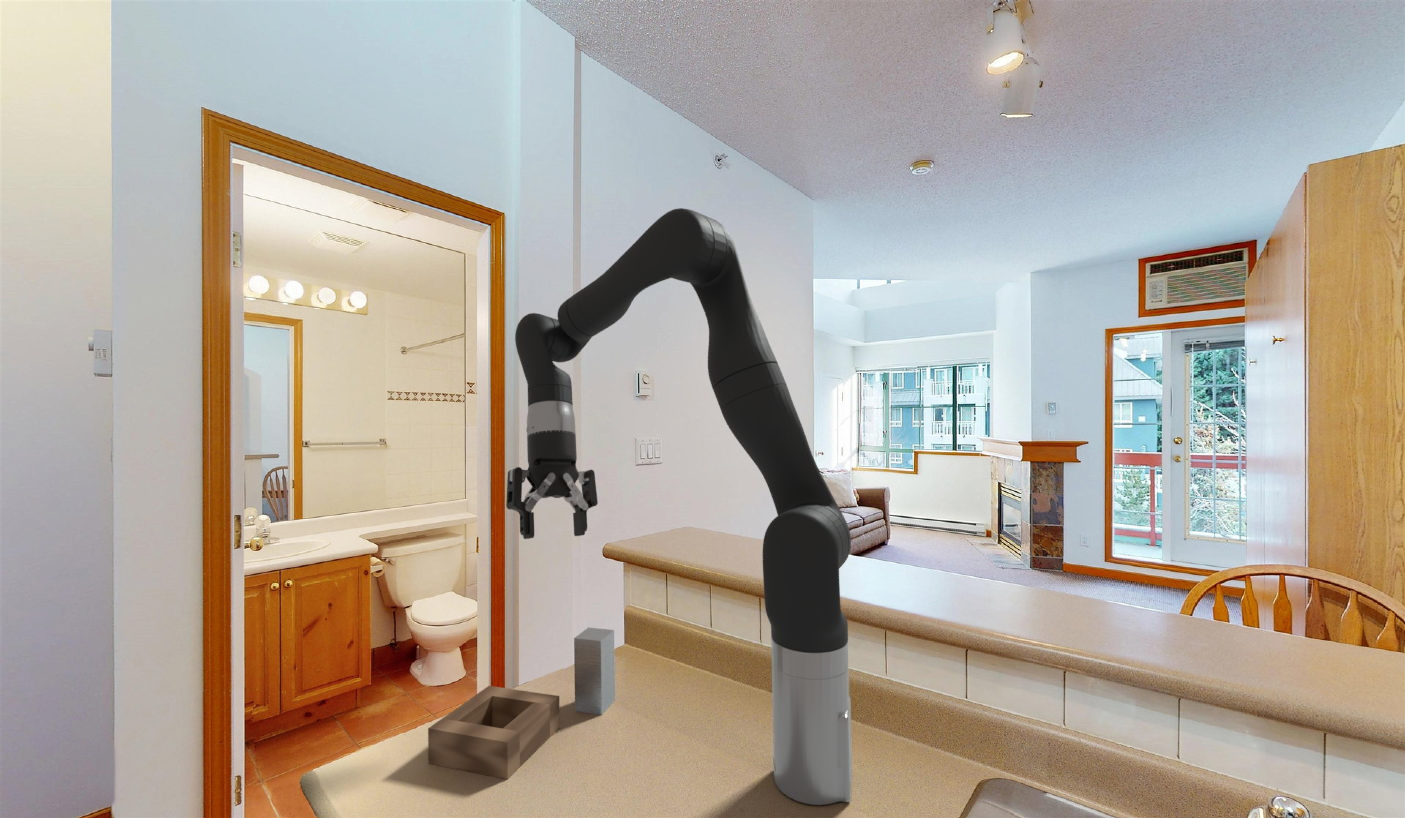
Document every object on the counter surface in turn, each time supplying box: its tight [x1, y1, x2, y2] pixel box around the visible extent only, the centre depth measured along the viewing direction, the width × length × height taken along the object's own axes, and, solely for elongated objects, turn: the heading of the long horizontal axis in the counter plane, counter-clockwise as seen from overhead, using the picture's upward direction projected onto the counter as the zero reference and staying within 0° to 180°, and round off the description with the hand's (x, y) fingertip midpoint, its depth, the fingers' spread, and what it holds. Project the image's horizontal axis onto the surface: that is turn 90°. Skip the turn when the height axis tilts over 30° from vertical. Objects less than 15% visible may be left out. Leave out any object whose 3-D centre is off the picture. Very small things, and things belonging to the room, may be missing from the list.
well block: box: [427, 685, 561, 780], centre depth 77 cm, size 12×12×4 cm
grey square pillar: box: [573, 627, 616, 716], centre depth 87 cm, size 4×4×11 cm
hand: (555, 537), depth 86 cm, fingers open, 8 cm apart
